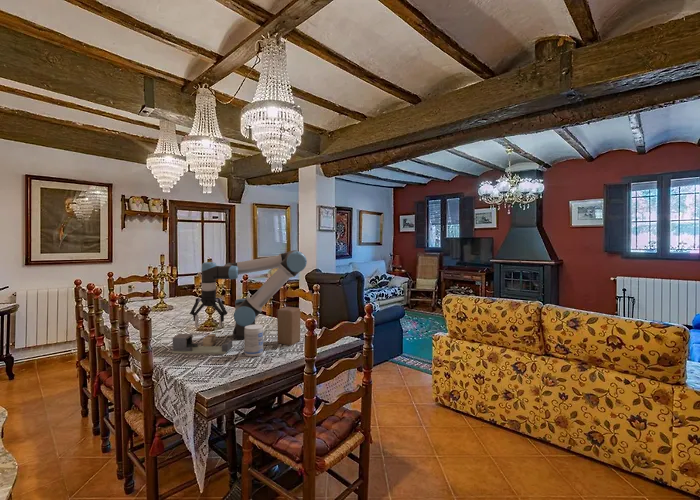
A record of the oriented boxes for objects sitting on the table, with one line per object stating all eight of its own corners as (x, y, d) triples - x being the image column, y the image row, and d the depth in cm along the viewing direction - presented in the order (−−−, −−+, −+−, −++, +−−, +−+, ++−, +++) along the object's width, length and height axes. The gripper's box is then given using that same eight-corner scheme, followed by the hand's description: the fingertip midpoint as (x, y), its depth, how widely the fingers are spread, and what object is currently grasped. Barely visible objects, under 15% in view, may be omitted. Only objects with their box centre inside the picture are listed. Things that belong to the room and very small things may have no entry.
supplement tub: (263, 356, 186) (262, 328, 185) (243, 357, 184) (243, 329, 183) (263, 350, 195) (263, 323, 194) (245, 351, 193) (244, 324, 192)
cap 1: (197, 346, 197) (197, 334, 197) (191, 351, 190) (191, 338, 189) (179, 346, 197) (179, 333, 197) (172, 350, 190) (172, 337, 189)
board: (230, 348, 198) (230, 346, 198) (225, 353, 189) (225, 352, 189) (180, 347, 198) (180, 345, 198) (172, 353, 189) (172, 351, 189)
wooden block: (300, 341, 212) (300, 307, 211) (291, 346, 203) (291, 311, 201) (286, 338, 216) (286, 306, 215) (276, 343, 207) (276, 309, 206)
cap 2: (232, 346, 197) (232, 339, 197) (227, 351, 190) (227, 344, 189) (226, 346, 197) (226, 339, 197) (221, 351, 190) (221, 344, 189)
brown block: (208, 342, 208) (208, 334, 207) (215, 342, 208) (215, 334, 207) (203, 347, 200) (203, 338, 199) (210, 347, 200) (210, 338, 199)
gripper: (233, 289, 205) (232, 325, 207) (189, 288, 206) (189, 324, 207) (228, 291, 198) (228, 329, 199) (183, 290, 198) (183, 328, 199)
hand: (208, 327), depth 203 cm, fingers open, 13 cm apart
